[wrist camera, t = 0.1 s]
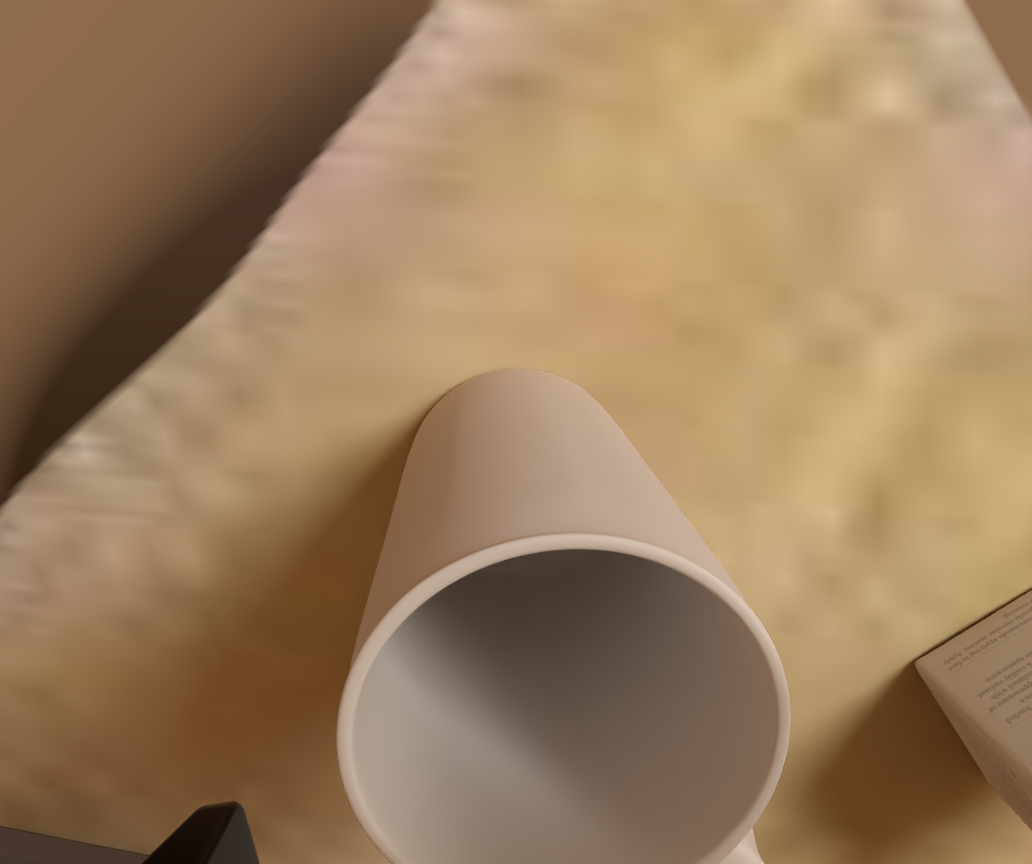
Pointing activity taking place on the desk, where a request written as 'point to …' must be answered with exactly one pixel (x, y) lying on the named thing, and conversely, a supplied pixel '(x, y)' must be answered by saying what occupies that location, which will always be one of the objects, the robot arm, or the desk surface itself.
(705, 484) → the desk surface
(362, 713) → the mug
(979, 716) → the skincare box
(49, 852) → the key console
